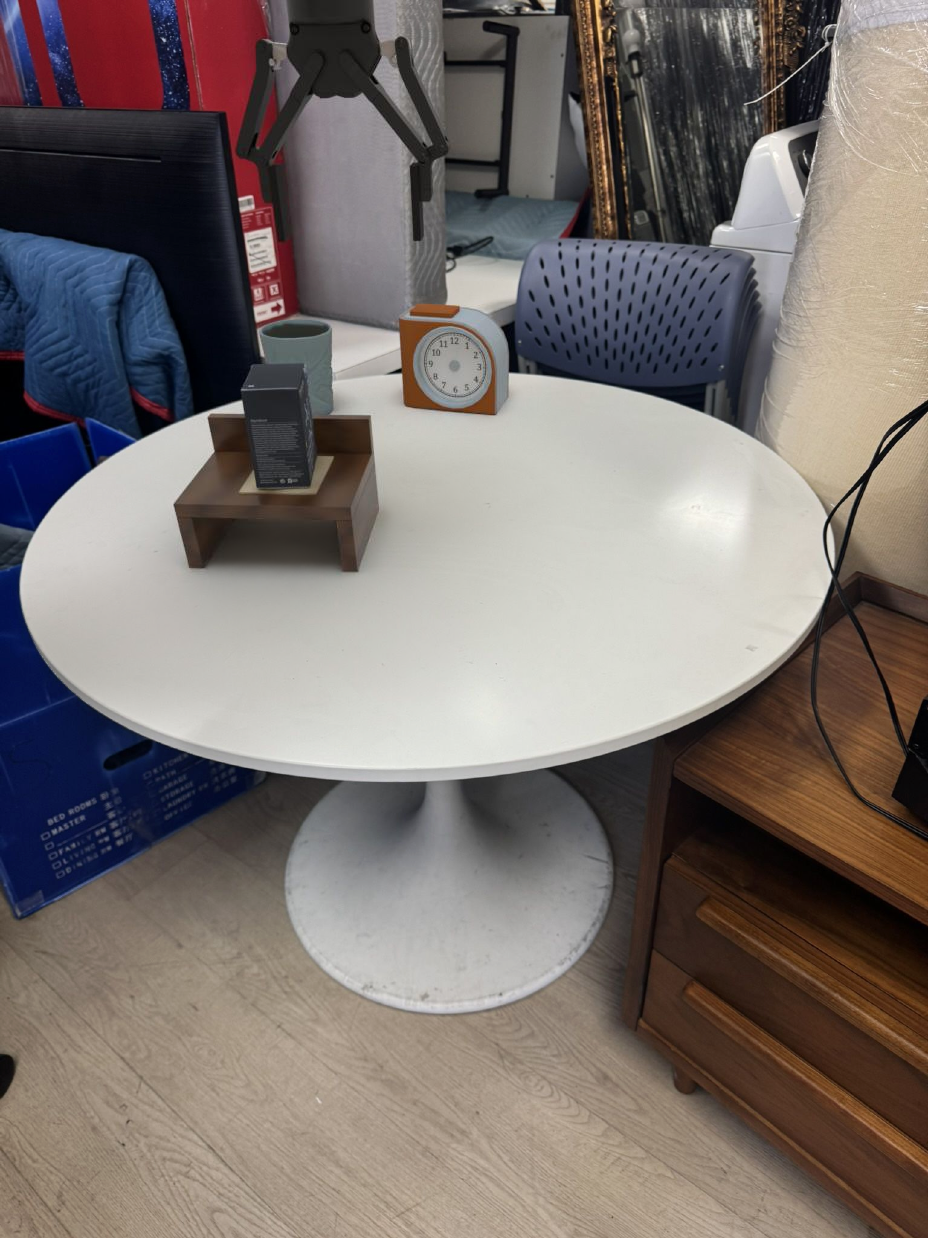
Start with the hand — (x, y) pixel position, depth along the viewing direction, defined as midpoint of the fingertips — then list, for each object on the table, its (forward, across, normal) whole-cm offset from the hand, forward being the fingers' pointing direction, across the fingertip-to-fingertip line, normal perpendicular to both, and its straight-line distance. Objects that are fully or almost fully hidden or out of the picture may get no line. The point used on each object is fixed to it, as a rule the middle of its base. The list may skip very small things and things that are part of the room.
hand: (351, 239), depth 82 cm
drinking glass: (+29, -15, +28) cm, 43 cm away
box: (+21, -7, -10) cm, 24 cm away
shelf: (+29, -8, -10) cm, 31 cm away
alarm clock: (+29, +7, +32) cm, 44 cm away
